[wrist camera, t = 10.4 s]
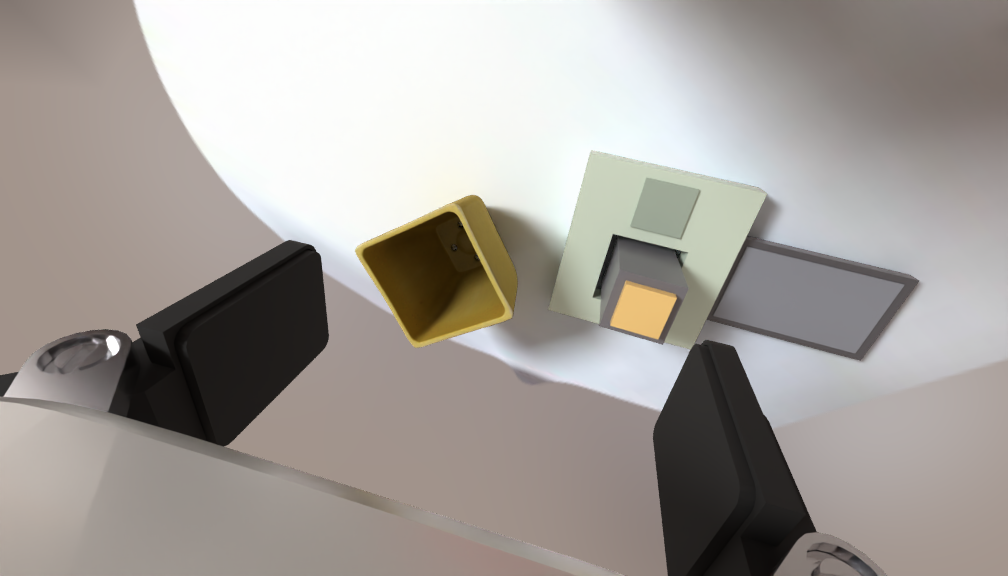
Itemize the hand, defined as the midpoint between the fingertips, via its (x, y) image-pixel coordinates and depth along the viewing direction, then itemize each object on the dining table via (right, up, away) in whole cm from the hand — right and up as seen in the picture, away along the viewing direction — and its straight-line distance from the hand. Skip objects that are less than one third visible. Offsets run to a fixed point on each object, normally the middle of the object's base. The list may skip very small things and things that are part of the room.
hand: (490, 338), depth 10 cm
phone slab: (+23, +1, +21) cm, 31 cm away
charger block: (+11, +3, +23) cm, 26 cm away
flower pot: (-2, +5, +26) cm, 27 cm away
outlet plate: (+11, +4, +23) cm, 26 cm away
